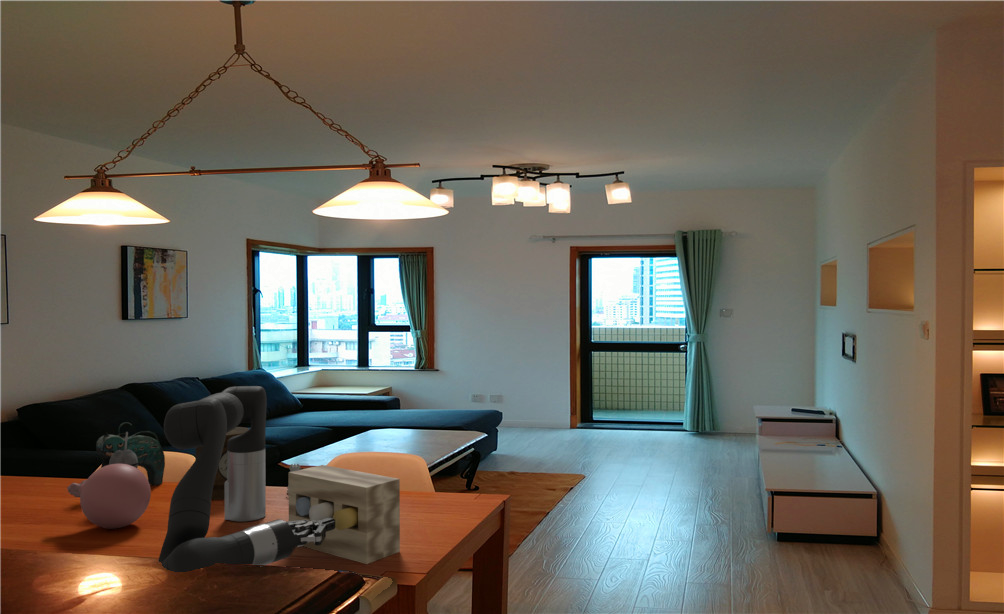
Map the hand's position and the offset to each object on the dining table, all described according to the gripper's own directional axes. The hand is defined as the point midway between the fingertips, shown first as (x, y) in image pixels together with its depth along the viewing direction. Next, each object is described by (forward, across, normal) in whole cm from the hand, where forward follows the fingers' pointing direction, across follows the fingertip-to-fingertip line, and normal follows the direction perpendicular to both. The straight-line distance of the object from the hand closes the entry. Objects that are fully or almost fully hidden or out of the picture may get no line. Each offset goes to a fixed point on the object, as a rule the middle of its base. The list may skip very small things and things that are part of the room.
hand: (332, 523), depth 164 cm
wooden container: (+23, +72, +9) cm, 76 cm away
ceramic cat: (+10, +98, +9) cm, 99 cm away
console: (+10, +7, +9) cm, 15 cm away
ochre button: (+4, 0, +2) cm, 5 cm away
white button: (+4, +7, +2) cm, 9 cm away
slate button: (+7, +15, +2) cm, 16 cm away
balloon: (-13, +66, +9) cm, 68 cm away
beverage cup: (-1, +80, +9) cm, 81 cm away
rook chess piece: (+36, +56, +9) cm, 68 cm away
